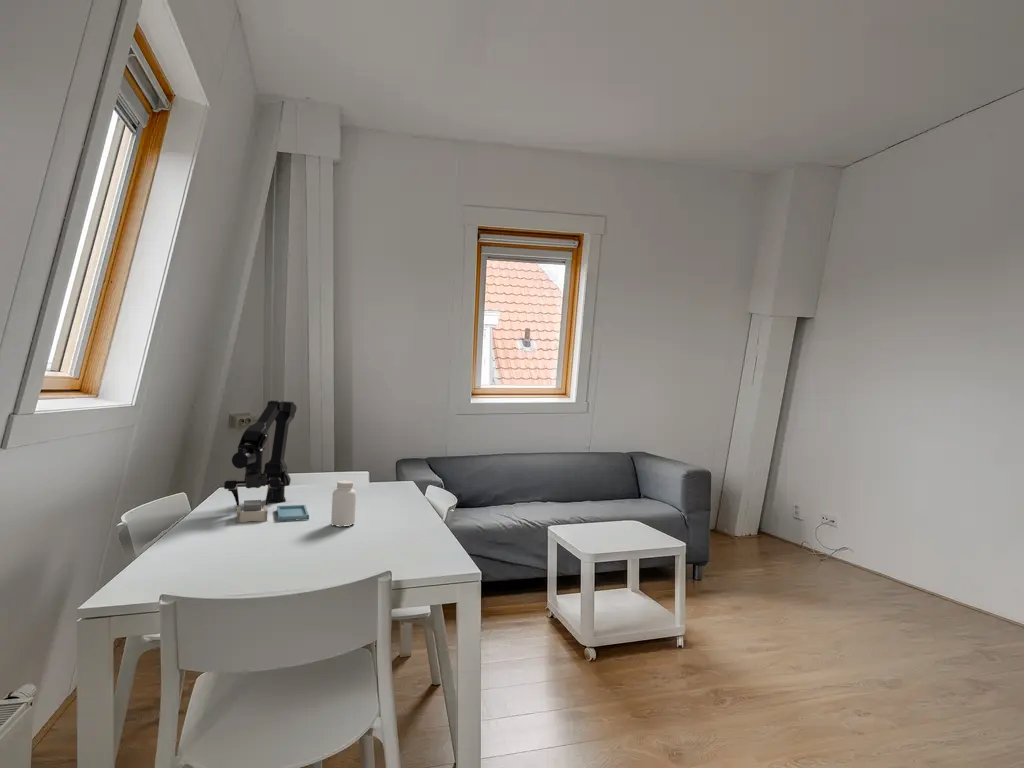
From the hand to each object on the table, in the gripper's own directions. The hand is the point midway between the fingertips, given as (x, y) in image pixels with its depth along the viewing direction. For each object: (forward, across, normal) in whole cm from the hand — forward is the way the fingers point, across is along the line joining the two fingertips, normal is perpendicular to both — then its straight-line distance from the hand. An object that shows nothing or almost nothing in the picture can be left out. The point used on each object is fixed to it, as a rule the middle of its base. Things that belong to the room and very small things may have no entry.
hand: (252, 506), depth 215 cm
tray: (+2, +14, -6) cm, 15 cm away
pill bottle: (+2, +29, -22) cm, 37 cm away
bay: (+2, 0, -8) cm, 9 cm away
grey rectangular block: (+2, 0, -5) cm, 5 cm away
